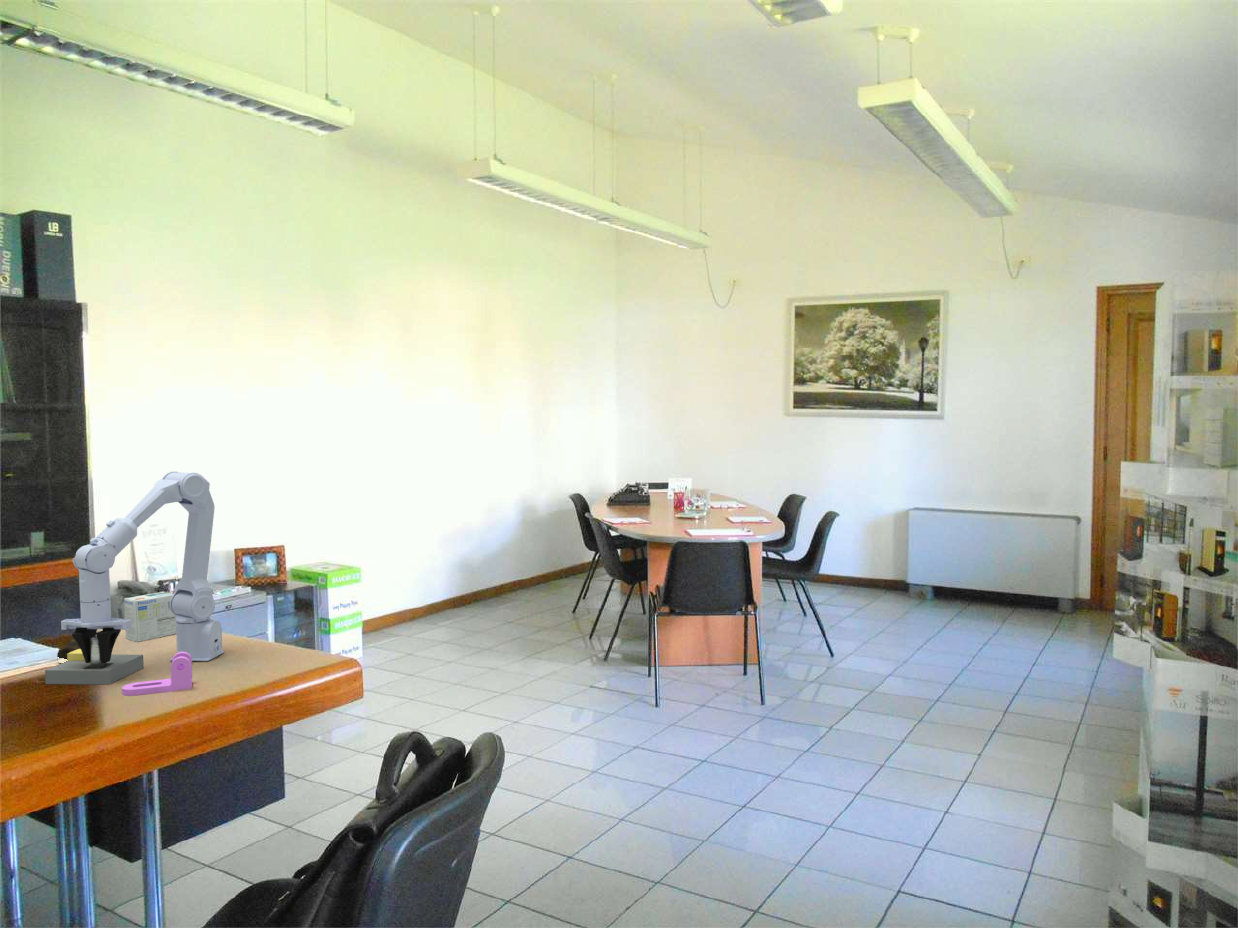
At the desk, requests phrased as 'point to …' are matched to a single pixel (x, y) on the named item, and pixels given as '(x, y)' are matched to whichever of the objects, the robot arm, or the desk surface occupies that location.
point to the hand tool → (68, 649)
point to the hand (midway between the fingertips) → (97, 661)
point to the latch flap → (75, 655)
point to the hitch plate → (94, 671)
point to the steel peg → (95, 654)
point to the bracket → (178, 681)
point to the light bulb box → (149, 616)
